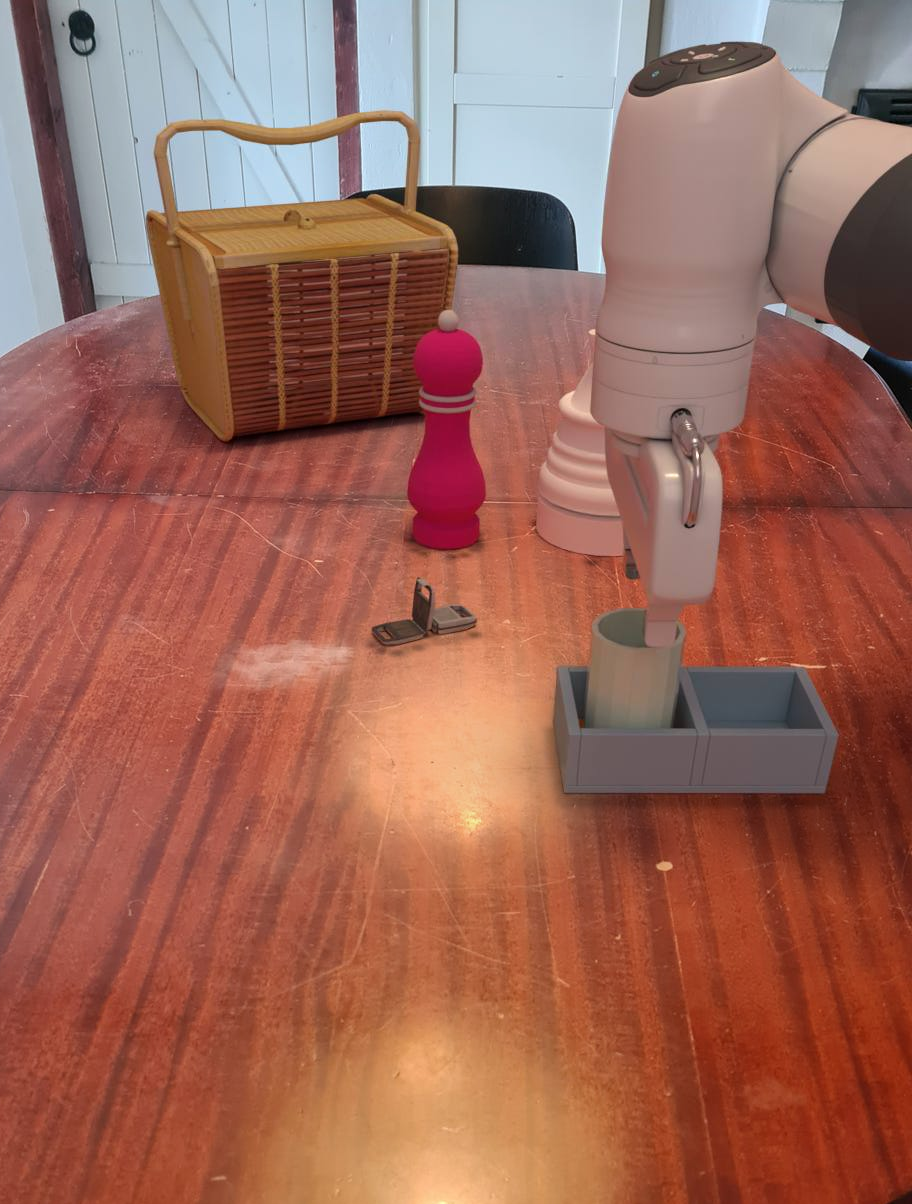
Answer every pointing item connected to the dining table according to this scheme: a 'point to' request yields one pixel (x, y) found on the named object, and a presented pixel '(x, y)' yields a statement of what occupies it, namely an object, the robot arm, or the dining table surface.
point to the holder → (703, 736)
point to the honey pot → (578, 481)
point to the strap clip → (426, 618)
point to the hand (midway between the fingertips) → (646, 606)
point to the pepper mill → (447, 439)
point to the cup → (630, 674)
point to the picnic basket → (299, 295)
